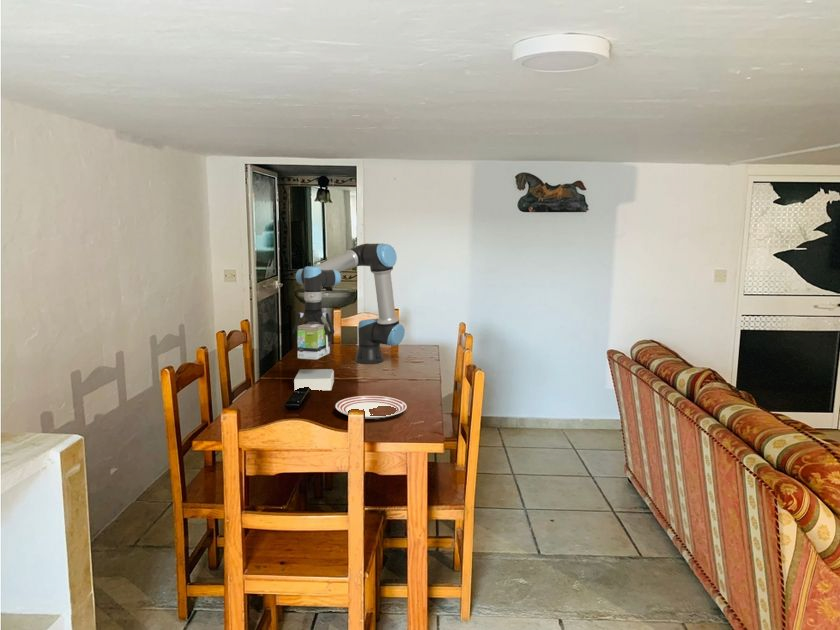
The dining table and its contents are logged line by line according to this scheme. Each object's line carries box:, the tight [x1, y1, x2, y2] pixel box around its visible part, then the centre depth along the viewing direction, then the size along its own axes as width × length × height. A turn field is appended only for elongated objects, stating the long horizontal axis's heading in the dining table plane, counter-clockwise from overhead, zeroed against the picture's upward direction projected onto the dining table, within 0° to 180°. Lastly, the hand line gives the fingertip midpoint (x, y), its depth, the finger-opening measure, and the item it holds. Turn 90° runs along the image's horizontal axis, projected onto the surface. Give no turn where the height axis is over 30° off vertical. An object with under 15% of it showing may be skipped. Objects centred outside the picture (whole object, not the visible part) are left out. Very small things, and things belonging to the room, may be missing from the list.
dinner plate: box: [334, 395, 408, 420], centre depth 221 cm, size 27×27×3 cm
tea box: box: [297, 321, 331, 360], centre depth 257 cm, size 15×10×15 cm
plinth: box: [293, 368, 335, 392], centre depth 260 cm, size 16×16×6 cm
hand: (314, 349), depth 258 cm, fingers closed on tea box, 11 cm apart
